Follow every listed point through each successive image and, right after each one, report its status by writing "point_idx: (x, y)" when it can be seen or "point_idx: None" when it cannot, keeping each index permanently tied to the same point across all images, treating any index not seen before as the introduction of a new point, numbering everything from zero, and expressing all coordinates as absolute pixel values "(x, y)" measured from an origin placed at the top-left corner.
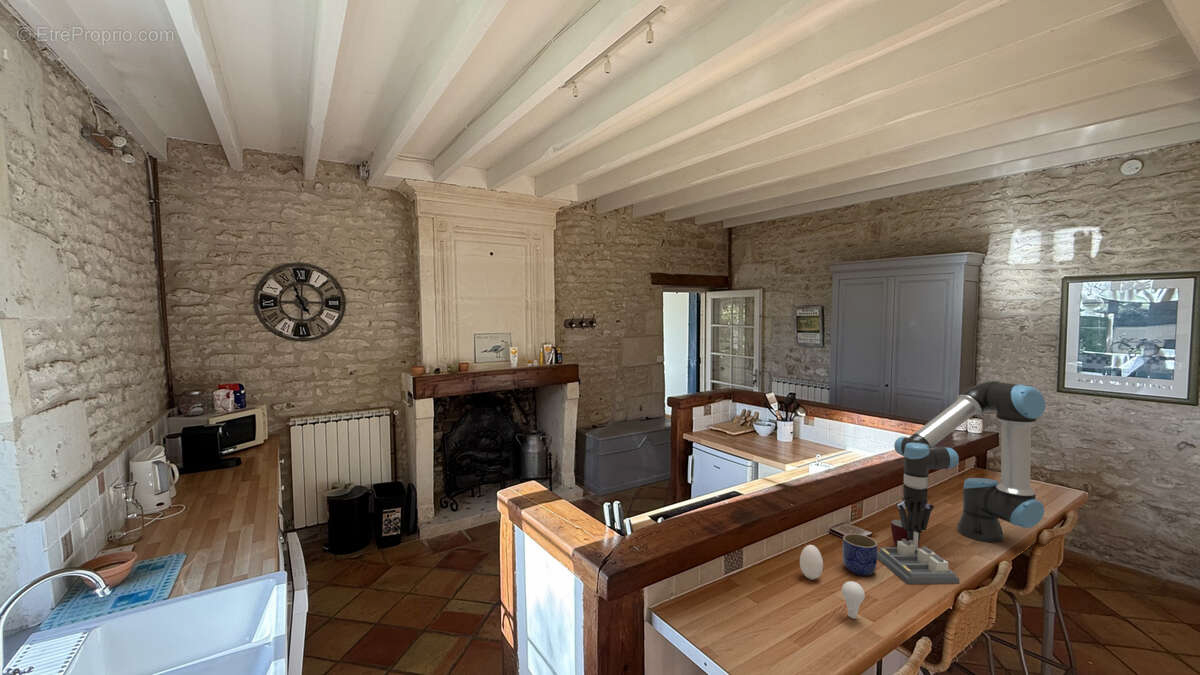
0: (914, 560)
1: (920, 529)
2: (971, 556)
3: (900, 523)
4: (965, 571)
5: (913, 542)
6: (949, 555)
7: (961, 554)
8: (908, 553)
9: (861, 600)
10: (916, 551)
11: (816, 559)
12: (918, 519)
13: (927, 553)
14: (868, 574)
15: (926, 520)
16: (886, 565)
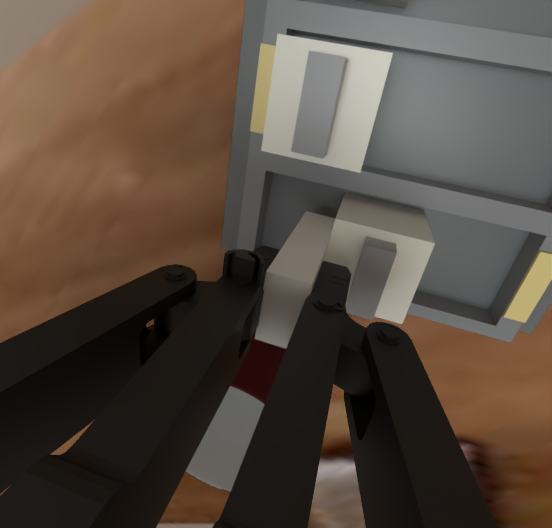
0: (376, 166)
1: (225, 286)
2: (2, 171)
3: (204, 452)
4: (120, 27)
5: (326, 247)
6: (94, 207)
7: (35, 199)
8: (391, 212)
9: None
10: None
11: None
12: (191, 389)
13: (353, 61)
14: None
15: (75, 331)
16: None
